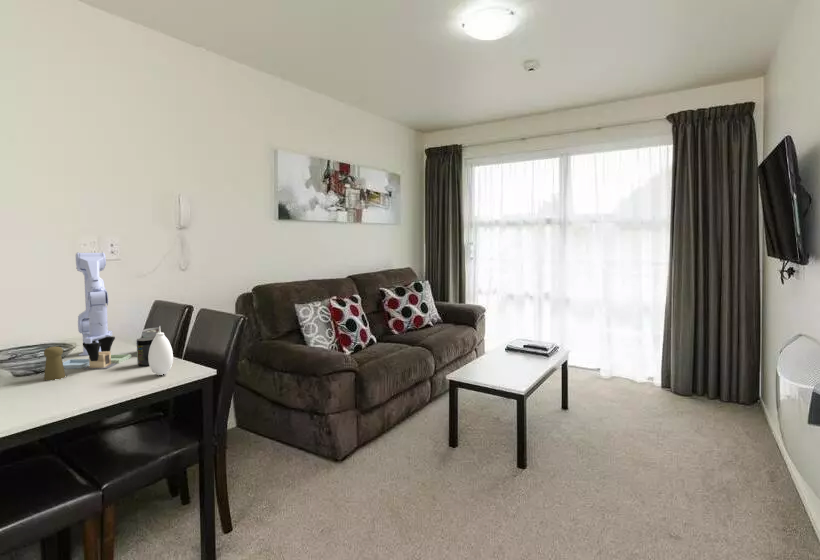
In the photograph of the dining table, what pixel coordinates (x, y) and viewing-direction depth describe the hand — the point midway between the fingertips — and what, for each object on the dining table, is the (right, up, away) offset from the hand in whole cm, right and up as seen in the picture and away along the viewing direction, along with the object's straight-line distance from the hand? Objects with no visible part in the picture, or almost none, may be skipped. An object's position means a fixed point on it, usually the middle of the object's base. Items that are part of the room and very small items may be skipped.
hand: (100, 358), depth 172 cm
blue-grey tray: (-11, -3, +2) cm, 11 cm away
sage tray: (-2, -3, +10) cm, 10 cm away
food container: (+5, -2, +24) cm, 25 cm away
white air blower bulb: (+28, -5, -9) cm, 30 cm away
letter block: (0, -3, 0) cm, 3 cm away
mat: (0, -4, 0) cm, 3 cm away
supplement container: (+16, -4, +4) cm, 17 cm away
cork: (-7, -5, -13) cm, 16 cm away
